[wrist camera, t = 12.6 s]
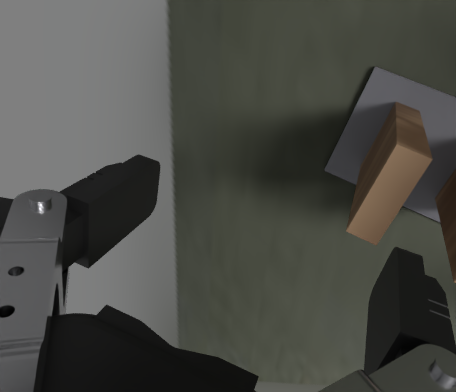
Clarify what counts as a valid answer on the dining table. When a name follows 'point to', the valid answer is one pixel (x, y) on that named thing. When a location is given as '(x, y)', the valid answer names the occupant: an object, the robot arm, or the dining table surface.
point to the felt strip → (373, 121)
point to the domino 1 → (389, 173)
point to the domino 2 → (448, 218)
